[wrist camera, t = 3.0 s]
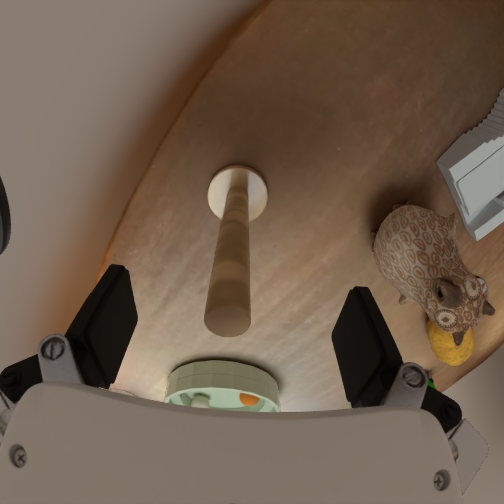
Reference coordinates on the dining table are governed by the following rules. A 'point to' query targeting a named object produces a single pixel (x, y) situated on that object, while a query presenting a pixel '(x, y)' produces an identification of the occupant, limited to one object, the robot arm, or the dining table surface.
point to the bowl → (223, 386)
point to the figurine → (429, 267)
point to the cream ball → (200, 402)
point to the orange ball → (248, 399)
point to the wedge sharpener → (478, 173)
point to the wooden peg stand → (233, 248)
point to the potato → (449, 345)
